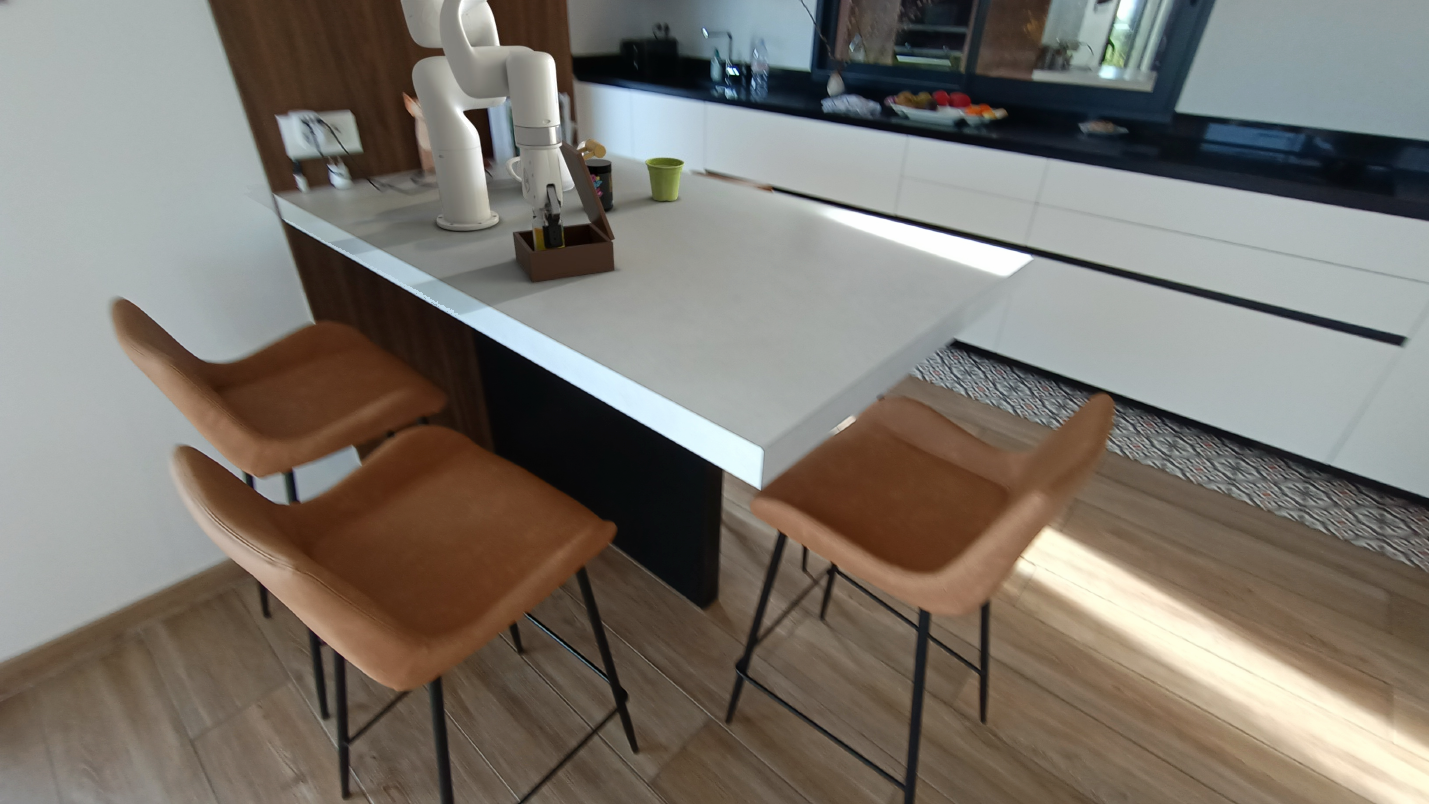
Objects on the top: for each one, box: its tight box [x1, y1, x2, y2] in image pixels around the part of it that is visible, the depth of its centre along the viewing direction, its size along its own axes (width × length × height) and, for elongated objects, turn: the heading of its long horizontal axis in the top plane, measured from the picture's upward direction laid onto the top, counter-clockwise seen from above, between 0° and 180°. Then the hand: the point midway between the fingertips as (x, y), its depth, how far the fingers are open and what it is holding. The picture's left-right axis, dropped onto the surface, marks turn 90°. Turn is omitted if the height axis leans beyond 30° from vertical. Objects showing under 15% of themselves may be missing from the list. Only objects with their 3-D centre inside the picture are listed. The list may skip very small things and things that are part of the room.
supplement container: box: [584, 158, 614, 213], centre depth 150 cm, size 7×7×10 cm
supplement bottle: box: [531, 204, 565, 251], centre depth 118 cm, size 5×5×10 cm
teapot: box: [505, 140, 587, 193], centre depth 163 cm, size 25×16×12 cm, turn 139°
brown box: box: [512, 222, 615, 283], centre depth 121 cm, size 15×12×5 cm
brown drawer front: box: [559, 138, 616, 242], centre depth 118 cm, size 16×12×6 cm
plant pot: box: [644, 157, 685, 202], centre depth 160 cm, size 9×9×9 cm
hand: (548, 240), depth 119 cm, fingers closed on supplement bottle, 5 cm apart
